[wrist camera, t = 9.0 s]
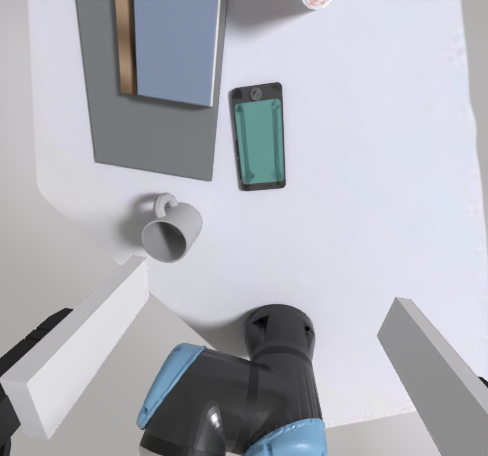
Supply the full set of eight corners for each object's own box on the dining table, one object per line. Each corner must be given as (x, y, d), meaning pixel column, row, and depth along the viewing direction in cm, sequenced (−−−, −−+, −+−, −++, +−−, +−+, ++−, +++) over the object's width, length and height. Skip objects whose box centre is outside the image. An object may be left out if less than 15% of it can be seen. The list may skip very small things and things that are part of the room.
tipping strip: (136, 95, 34) (131, 93, 33) (127, 93, 34) (121, 92, 33) (132, -12, 29) (125, -19, 28) (121, -14, 29) (113, -21, 28)
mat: (211, 180, 39) (211, 181, 38) (98, 161, 39) (95, 161, 39) (228, -6, 29) (227, -9, 28) (76, -28, 30) (72, -31, 29)
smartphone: (281, 81, 31) (285, 188, 37) (281, 82, 33) (285, 186, 38) (229, 88, 32) (241, 191, 38) (230, 90, 34) (242, 190, 39)
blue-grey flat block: (146, 96, 34) (212, 107, 34) (137, 94, 32) (208, 105, 31) (143, -10, 29) (220, 1, 29) (133, -22, 27) (216, -10, 27)
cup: (173, 240, 44) (151, 265, 36) (154, 191, 41) (125, 206, 32) (208, 234, 43) (194, 259, 35) (191, 183, 39) (172, 197, 31)
